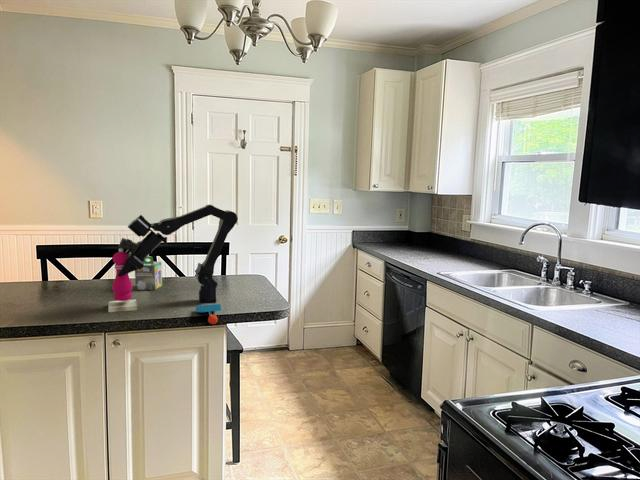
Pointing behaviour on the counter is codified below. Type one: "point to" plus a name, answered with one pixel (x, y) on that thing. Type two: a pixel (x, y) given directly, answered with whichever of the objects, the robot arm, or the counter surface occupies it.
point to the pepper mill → (121, 278)
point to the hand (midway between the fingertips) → (118, 274)
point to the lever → (209, 308)
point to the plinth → (122, 305)
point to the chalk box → (149, 275)
